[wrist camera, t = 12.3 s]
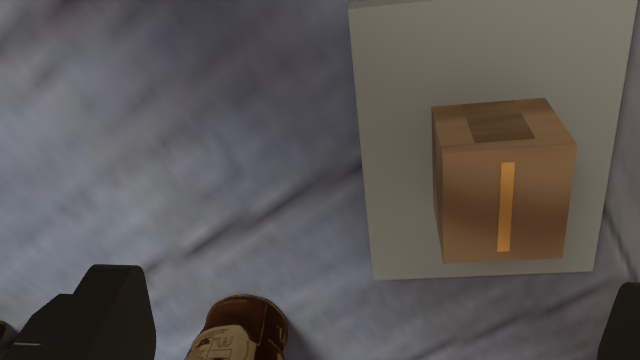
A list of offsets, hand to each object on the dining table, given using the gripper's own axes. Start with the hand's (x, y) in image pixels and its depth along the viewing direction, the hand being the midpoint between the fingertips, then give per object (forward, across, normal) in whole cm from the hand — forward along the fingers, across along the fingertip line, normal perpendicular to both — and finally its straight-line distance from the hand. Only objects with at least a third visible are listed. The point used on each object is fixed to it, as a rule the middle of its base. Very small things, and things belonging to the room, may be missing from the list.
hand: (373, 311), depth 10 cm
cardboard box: (+22, -8, +8) cm, 24 cm away
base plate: (+23, -7, +8) cm, 26 cm away
